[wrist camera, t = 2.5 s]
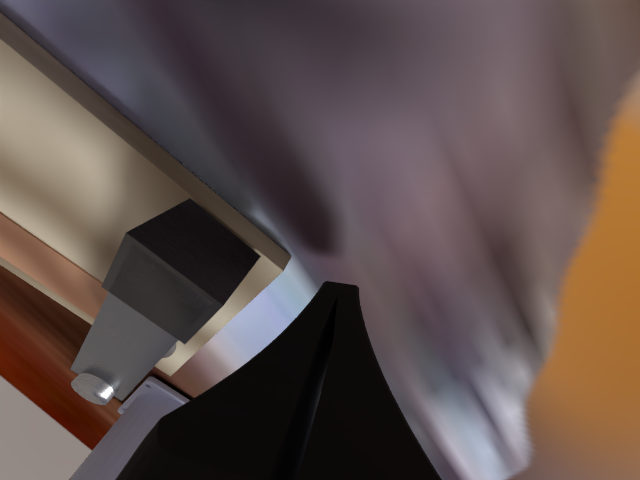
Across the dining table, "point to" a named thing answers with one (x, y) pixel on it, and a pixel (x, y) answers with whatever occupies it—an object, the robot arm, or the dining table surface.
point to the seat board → (92, 189)
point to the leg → (158, 297)
